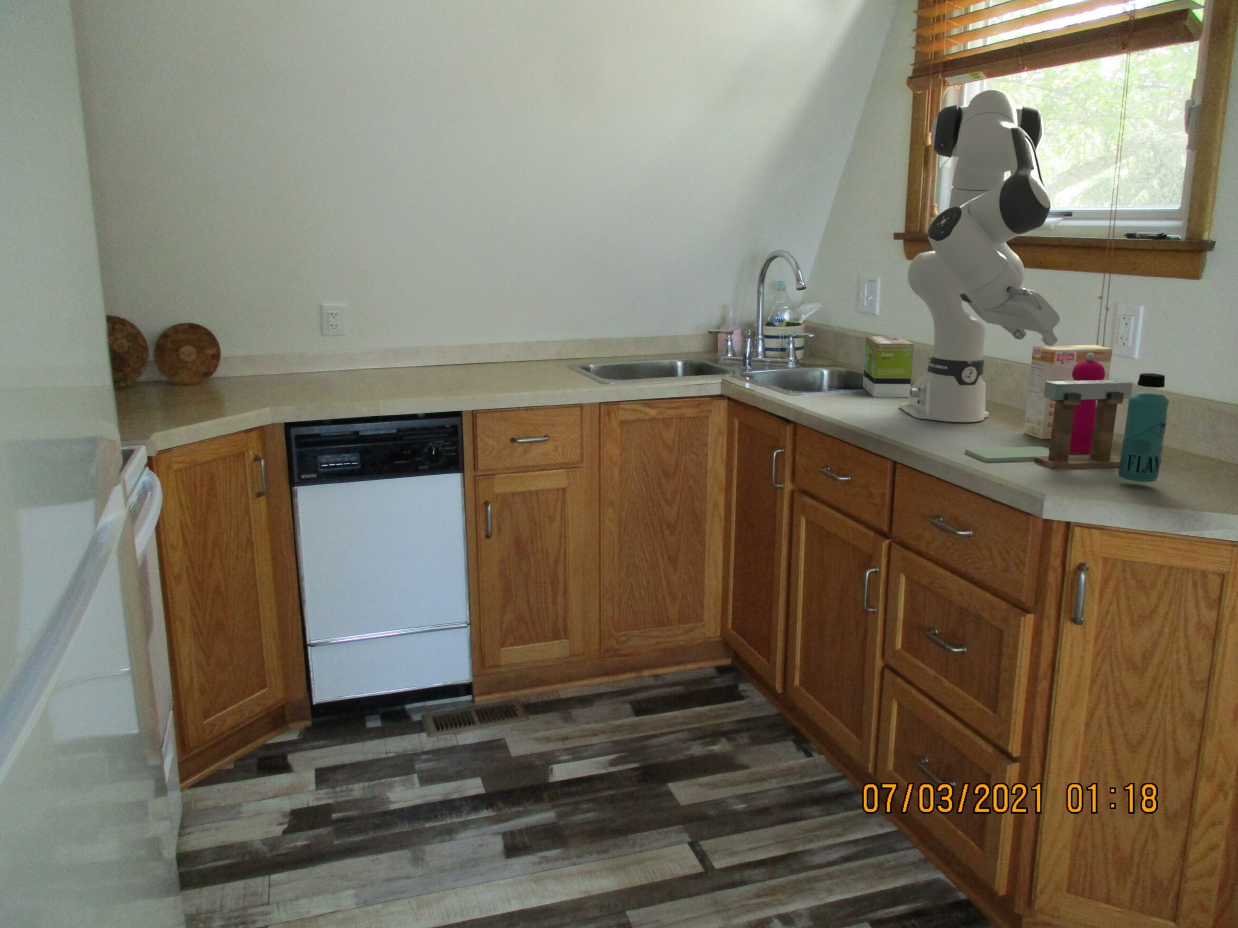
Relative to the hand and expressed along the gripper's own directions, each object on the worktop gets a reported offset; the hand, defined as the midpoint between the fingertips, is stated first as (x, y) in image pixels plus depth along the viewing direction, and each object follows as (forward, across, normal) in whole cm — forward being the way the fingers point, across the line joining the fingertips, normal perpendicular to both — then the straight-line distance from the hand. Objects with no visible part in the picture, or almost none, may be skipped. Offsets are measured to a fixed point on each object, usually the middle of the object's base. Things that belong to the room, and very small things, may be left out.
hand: (1036, 340), depth 181 cm
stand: (+26, 0, +8) cm, 27 cm away
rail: (+16, 0, -1) cm, 16 cm away
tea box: (+26, +82, +9) cm, 86 cm away
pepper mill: (+31, +11, +3) cm, 33 cm away
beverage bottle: (+26, -16, +9) cm, 31 cm away
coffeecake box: (+36, +25, -1) cm, 43 cm away
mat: (+20, +8, +14) cm, 26 cm away
